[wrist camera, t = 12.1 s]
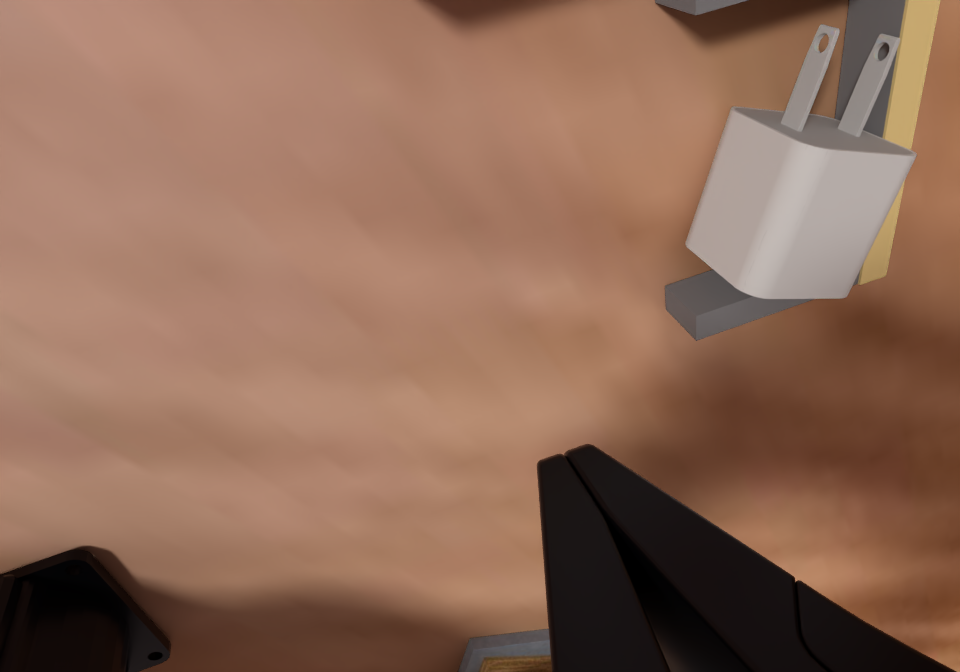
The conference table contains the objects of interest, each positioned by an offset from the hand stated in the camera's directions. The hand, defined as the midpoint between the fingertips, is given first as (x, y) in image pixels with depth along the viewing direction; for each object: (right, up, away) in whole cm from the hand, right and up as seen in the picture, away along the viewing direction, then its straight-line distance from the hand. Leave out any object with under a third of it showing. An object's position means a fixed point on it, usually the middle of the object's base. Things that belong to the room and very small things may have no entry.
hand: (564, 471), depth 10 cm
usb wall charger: (+8, +8, +11) cm, 16 cm away
